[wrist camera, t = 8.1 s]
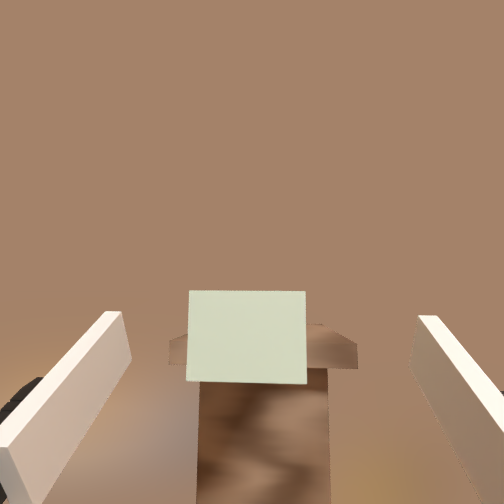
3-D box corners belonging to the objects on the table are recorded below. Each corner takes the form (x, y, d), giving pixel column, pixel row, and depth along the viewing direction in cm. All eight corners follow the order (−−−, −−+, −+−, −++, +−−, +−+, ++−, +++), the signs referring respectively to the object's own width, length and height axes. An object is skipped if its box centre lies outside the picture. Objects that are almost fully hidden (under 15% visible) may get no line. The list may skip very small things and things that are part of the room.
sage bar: (186, 380, 11) (189, 290, 11) (252, 322, 38) (252, 296, 39) (307, 384, 10) (305, 291, 11) (285, 322, 38) (285, 297, 38)
